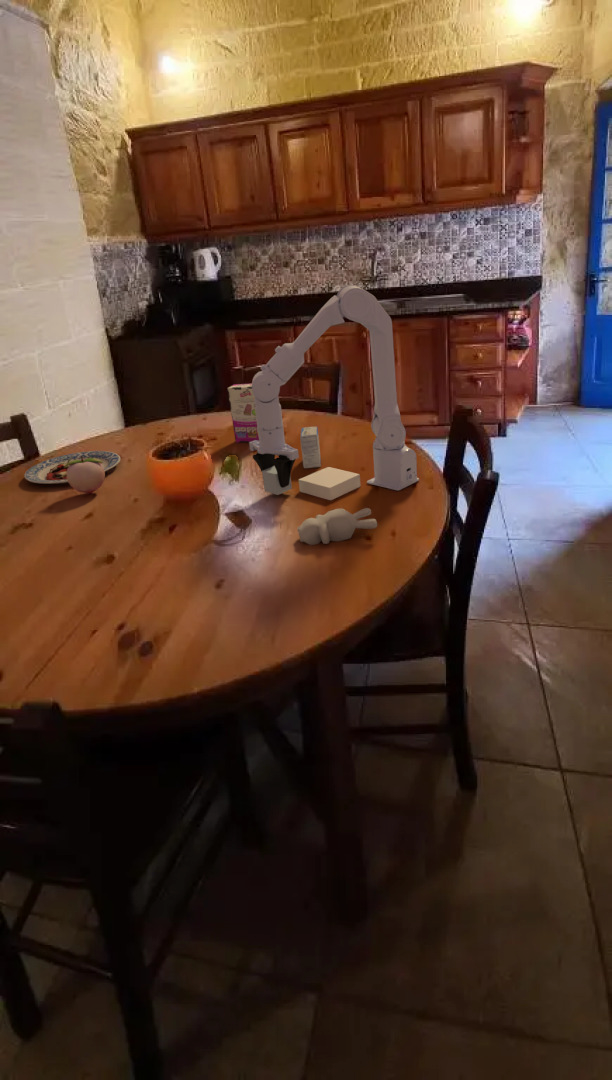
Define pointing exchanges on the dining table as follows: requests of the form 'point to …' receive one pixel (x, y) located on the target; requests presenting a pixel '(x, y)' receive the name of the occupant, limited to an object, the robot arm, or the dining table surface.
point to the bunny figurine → (334, 526)
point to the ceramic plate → (55, 468)
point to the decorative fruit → (85, 474)
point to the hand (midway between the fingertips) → (277, 484)
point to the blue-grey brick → (273, 481)
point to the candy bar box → (243, 413)
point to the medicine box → (310, 447)
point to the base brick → (329, 483)
